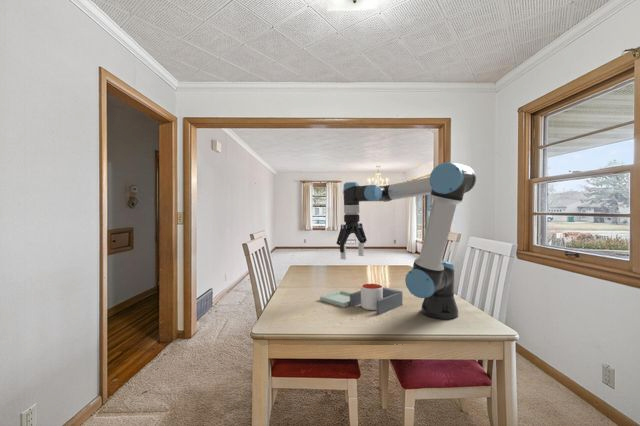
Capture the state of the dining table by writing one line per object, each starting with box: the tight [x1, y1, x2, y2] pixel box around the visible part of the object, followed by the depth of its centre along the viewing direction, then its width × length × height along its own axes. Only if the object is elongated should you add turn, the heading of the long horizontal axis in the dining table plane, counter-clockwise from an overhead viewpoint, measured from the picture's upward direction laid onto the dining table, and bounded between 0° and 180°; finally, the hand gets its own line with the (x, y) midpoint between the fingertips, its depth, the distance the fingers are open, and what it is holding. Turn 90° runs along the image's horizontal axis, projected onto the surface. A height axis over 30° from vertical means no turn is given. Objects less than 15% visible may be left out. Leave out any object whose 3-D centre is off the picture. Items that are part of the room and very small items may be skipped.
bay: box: [349, 286, 403, 316], centre depth 151 cm, size 16×19×7 cm
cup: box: [360, 283, 384, 311], centre depth 149 cm, size 10×10×10 cm
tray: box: [319, 289, 352, 309], centre depth 160 cm, size 16×16×2 cm
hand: (352, 257), depth 157 cm, fingers open, 13 cm apart
